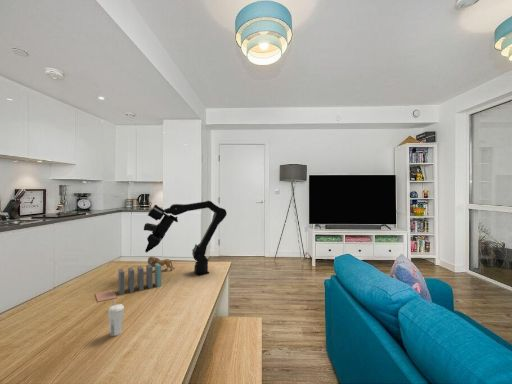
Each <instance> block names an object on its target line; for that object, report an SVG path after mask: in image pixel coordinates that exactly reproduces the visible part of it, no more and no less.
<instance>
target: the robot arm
mask: <svg viewBox="0 0 512 384" xmlns="http://www.w3.org/2000/svg"><path fill="white" fill-rule="evenodd" d="M207 208H208V209H209V210H211V212H213V215H212V218H211V219H212V220H211V222H210V224H209V226H208V228H207V230H206V231H205V233H204V235H203V237H202V239H201V240H200V243H198V244H197V243H196V244H195V245H194V247H193V248H192V250H191V251H192V253H191V255H192V257H193V259H194V260H195V265H193V266H194V267H193V273H195V274H196V275H197V276H201V275H203V276H204V275H207V274H209V273H210V272H209V259H208V257H207V256H206V251H207V248H208V245H209V243H210V241H211V239H212V237H213V235H214V234H215V232H216V230H217V228H218V226H219V225H220V223H222V222H223V221H224V219H225V218H226V216H227V210H226V209H225V208H223V207H219V206H218V205H216V204H215V203H214V202H213V201H211V200H205V201H200V202H192V203H188V204H187V203H186V204H185V203H184V204H183V203H173V204H171V205H170V206H169V207H167V208H165V209H163V208H162V207H160V206H159V205H157V204H154V206H153V207H152V209H150V211H149V212H148V214H147V216H148V217H150V218H151V219H153V220H155V221H158V220H159V222H158V223H157V224H154V223H149V222H146V223H144V226H143V231H149V232H151V233H150V234H149V235H148V237H146V238H147V242H148V244H147V246H146V248H145V250H144V252H145V253H148V252H150V251H151V250H153V249H154V248H156V247H157V246H158V245H159V244H160V243H161V241H162V240H163V239H164V237H165V236H166V234H167V232H168V231H169V229H170V228H171V226H172V225H173V223H174V222H176V223H178V222H179V220H178V216H179V215H181V214H184V213H186V212H190V211H197V210H203V209H207Z"/></svg>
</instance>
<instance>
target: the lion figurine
mask: <svg viewBox="0 0 512 384" xmlns="http://www.w3.org/2000/svg"><path fill="white" fill-rule="evenodd" d="M156 263H159V264H160V265H161V267H164V266H165V265H166V268H165V269H164V270H165V271H167V270H168V269H169V271H170V272H172V271H173V270H175V267H174V266H173V262H172V260H170V259H169V258H164V259H159V257H158V258H157V257H155V256H149V257H148V258H147V265H151V266H152V267H153V268H155V264H156ZM153 272H155V269H154V270H153Z"/></svg>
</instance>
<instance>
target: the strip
mask: <svg viewBox="0 0 512 384" xmlns="http://www.w3.org/2000/svg"><path fill="white" fill-rule="evenodd" d="M95 298H96V302H97V303H100V302H106V301H109V300H110V301H111V300H115V299H117V294H116V293H115V290H114V289H109V290H104V291H100V292H96V293H95Z"/></svg>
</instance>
